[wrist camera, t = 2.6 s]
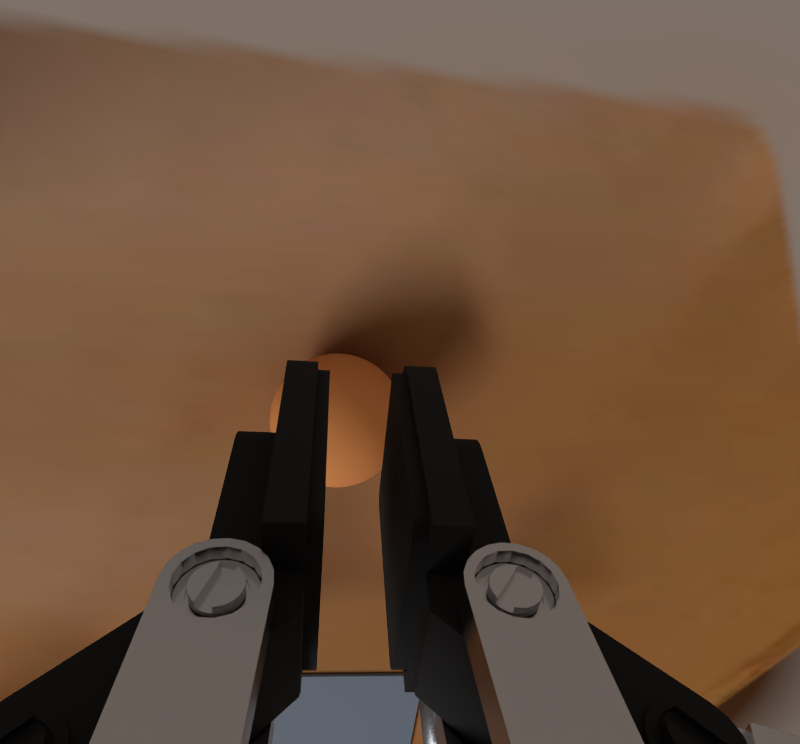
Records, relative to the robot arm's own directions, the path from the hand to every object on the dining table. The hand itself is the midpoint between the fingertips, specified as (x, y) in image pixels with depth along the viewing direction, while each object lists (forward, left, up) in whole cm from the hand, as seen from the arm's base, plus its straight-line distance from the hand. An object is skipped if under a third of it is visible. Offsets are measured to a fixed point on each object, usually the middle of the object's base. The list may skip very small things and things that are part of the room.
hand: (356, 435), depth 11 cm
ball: (+9, 0, -14) cm, 17 cm away
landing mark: (+39, 0, -17) cm, 43 cm away
